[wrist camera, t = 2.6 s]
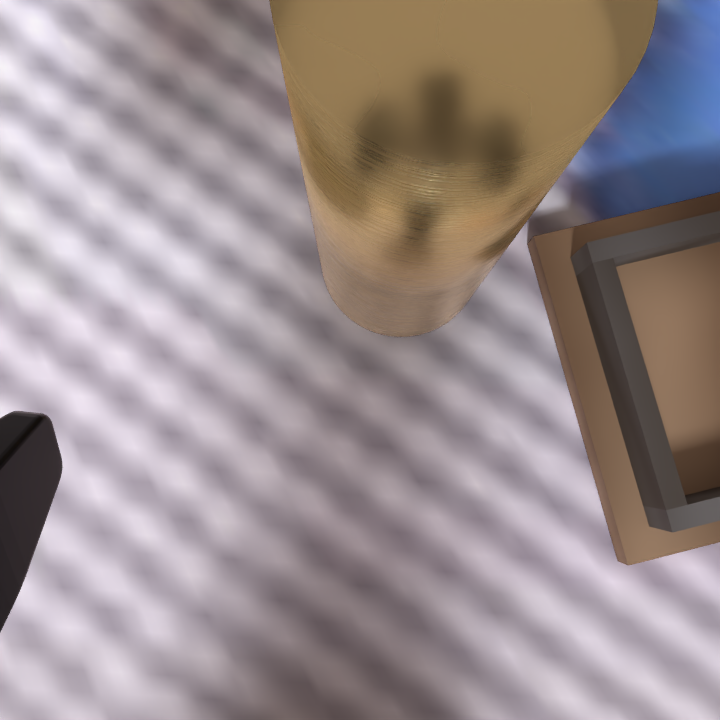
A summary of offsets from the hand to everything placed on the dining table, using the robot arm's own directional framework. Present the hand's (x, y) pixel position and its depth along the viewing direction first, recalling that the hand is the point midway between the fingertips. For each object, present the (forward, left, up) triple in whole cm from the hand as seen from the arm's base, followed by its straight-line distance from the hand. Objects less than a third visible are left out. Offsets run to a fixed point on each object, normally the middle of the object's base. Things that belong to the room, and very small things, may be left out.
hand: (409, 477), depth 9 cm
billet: (+2, +6, -12) cm, 14 cm away
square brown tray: (+11, 0, -12) cm, 17 cm away
